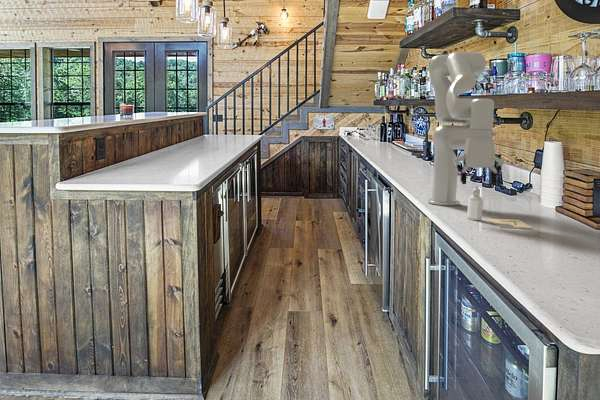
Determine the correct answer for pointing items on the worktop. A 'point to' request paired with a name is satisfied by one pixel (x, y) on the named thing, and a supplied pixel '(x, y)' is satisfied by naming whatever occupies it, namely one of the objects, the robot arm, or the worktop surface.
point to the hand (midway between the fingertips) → (477, 184)
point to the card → (509, 223)
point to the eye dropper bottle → (475, 205)
